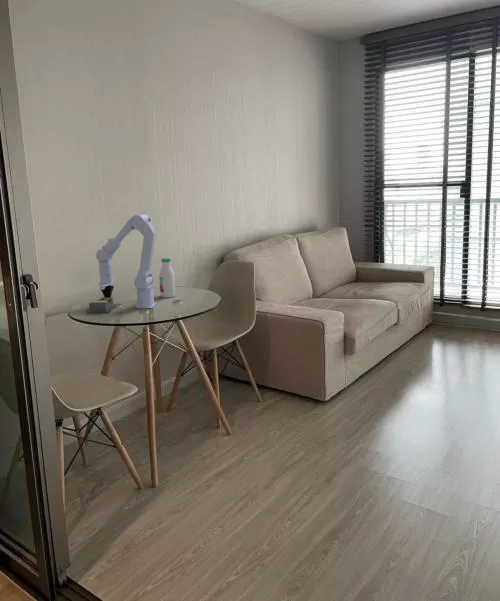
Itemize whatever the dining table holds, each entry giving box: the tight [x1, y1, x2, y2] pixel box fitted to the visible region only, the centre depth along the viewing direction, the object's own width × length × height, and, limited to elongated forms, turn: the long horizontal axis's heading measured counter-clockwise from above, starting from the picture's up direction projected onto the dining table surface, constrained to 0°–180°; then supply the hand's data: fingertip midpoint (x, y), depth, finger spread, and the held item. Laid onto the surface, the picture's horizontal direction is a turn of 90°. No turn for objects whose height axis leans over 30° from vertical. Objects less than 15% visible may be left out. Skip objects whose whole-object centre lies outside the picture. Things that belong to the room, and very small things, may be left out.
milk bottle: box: [158, 257, 176, 298], centre depth 280 cm, size 8×8×20 cm
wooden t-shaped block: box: [99, 296, 114, 301], centre depth 258 cm, size 10×6×4 cm, turn 176°
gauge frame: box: [86, 298, 117, 314], centre depth 255 cm, size 12×10×5 cm
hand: (108, 301), depth 264 cm, fingers closed
